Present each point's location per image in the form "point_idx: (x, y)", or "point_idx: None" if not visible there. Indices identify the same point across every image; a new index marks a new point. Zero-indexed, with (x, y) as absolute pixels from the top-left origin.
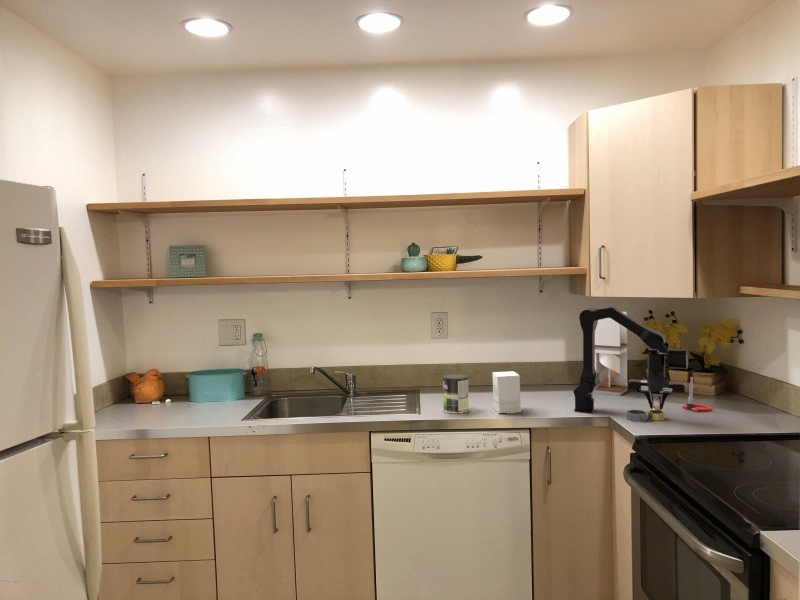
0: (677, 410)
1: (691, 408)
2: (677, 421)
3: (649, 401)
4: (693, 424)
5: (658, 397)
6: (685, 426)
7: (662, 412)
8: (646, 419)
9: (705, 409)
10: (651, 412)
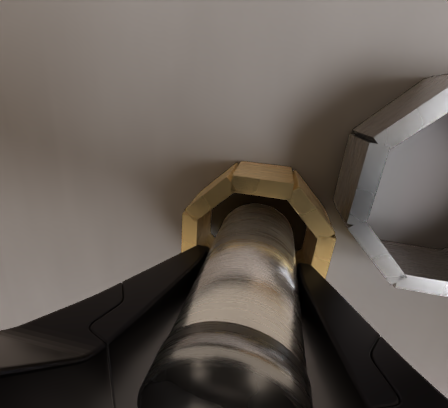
0: None
1: None
2: (118, 170)
3: (346, 318)
4: (19, 112)
5: (186, 346)
6: (54, 30)
7: None
8: (358, 129)
9: None
10: (304, 216)
